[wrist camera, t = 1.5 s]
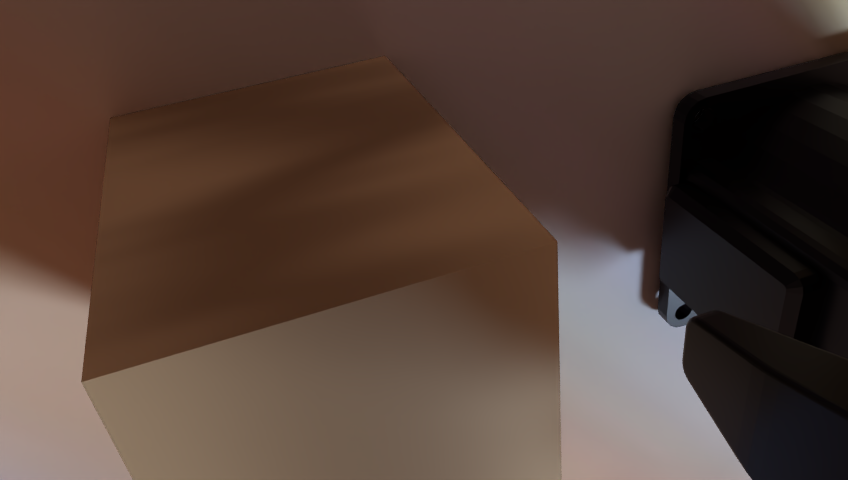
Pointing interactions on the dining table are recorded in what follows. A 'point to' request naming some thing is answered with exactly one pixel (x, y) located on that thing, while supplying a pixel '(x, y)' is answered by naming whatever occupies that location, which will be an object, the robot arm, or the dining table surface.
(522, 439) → the walnut block
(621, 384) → the dining table surface
